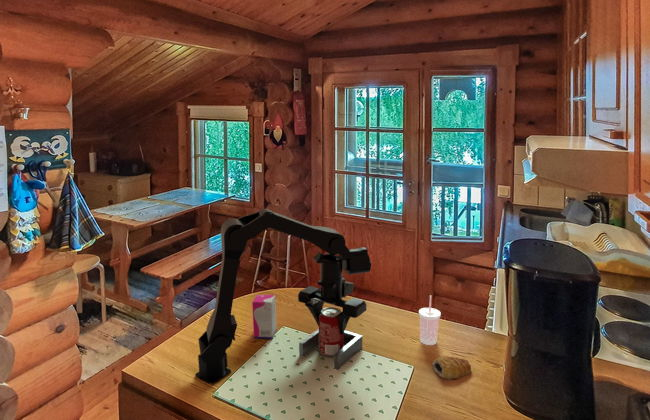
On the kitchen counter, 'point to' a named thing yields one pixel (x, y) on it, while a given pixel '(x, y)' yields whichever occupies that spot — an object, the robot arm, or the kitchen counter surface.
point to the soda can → (330, 331)
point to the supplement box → (264, 316)
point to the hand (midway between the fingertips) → (331, 330)
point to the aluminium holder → (342, 356)
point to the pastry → (451, 367)
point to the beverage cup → (429, 324)
